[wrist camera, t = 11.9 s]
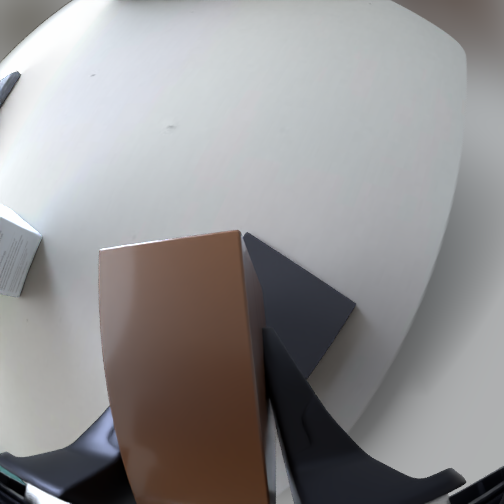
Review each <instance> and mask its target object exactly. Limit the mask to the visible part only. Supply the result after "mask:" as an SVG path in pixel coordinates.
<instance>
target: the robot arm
mask: <svg viewBox="0 0 504 504" xmlns="http://www.w3.org/2000/svg"><path fill="white" fill-rule="evenodd" d="M262 335H263V357H264V369H265V375H266V380H267V386H268V392H269V398H270V402H271V407H272V411H273V416H274V420H275V425H276V429H277V433H278V438H279V442H280V446H281V450H282V455H283V459H284V463H285V468H286V472H287V476H288V480H289V484H290V488H291V492H292V497H293V500H294V504H504V466H503V467H501V468H499V469H498V470H496V471H494V472H492V473H490V474H489V475H487V476H486V477H484V478H482V479H480V480H479V481H477V482H475V483H473V484H472V485H470V486H468V487H466V488H465V489H463V490H461V491H459V492H457V493H455V494H453V495H451V496H450V497H449V496H448V493H449V492H451V491H453V490H455V489H457V488H459V487H461V486H462V485H464V484H465V483H466V480H465V479H464V477H463V476H462V475H460V474H459V473H457V472H456V471H455V470H454V469H452V468H449V469H446V470H444V471H441V472H439V473H437V474H434V475H432V476H430V477H427V478H421V479H417V478H412V477H409V476H407V475H405V474H403V473H400V472H399V471H397V470H395V469H393V468H391V467H389V466H387V465H385V464H383V463H381V462H379V461H377V460H375V459H374V458H372V457H370V456H369V455H368V454H367V453H365V452H364V451H363V450H362V449H361V448H360V447H359V446H358V445H357V444H356V443H355V442H354V441H353V440H352V439H351V438H350V437H349V436H348V434H347V433H346V432H345V431H344V430H343V429H342V428H341V427H340V426H339V425H338V424H337V422H336V421H335V420H334V419H333V418H332V416H331V415H330V414H329V413H328V411H327V410H326V409H325V407H324V406H323V404H322V403H321V402H320V400H319V399H318V397H317V395H315V393H314V391H313V390H312V388H311V386H310V385H309V383H308V382H307V380H306V379H305V377H304V376H303V374H302V373H301V371H300V369H299V368H298V366H297V365H296V363H295V362H294V360H293V359H292V357H291V355H290V354H289V352H288V351H287V349H286V348H285V346H284V344H283V343H282V341H281V340H280V338H279V336H278V335H277V333H276V332H275V330H274V329H273V327H263V328H262ZM0 466H2V467H3V468H5V469H6V470H8V471H9V472H11V473H12V474H14V475H15V476H17V477H19V478H20V479H22V480H24V481H26V482H27V484H26V485H24V484H22V483H20V482H19V481H17V480H15V479H13V478H11V477H10V476H8V475H6V474H4V473H3V472H1V471H0V504H137V503H136V501H135V498H134V495H133V492H132V489H131V486H130V483H129V480H128V477H127V474H126V470H125V467H124V463H123V460H122V456H121V453H120V449H119V445H118V441H117V436H116V432H115V428H114V423H113V418H112V413H111V408H110V406H109V407H108V408H107V409H106V410H105V412H104V413H103V414H102V415H101V416H100V417H99V418H98V419H97V420H96V421H95V422H94V423H93V424H92V425H91V426H90V427H89V428H88V429H87V430H86V431H85V432H84V433H83V434H82V435H81V436H80V437H79V438H78V439H77V440H76V441H75V442H74V443H72V444H71V445H69V446H67V447H65V448H63V449H59V450H55V451H51V452H47V453H43V454H38V455H34V456H29V457H16V456H13V455H12V454H10V453H8V452H4V453H1V454H0Z"/></svg>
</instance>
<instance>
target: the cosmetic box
mask: <svg viewBox="0 0 504 504" xmlns="http://www.w3.org/2000/svg"><path fill="white" fill-rule="evenodd" d="M41 239H42V235H41V234H40V233H39V232H37V231H36V230H35V229H34V228H33V227H31V226H30V225H29V224H28V223H27V222H25V221H24V220H23V219H22V218H21V217H19V216H18V215H17V214H16V213H15V212H13V211H12V210H11V209H10V208H8V207H6V206H4V205H2V204H0V294H2V295H7V296H13V297H19V296H20V293H21V290H22V287H23V284H24V281H25V279H26V276H27V273H28V270H29V268H30V265H31V263H32V260H33V258H34V255H35V253H36V250H37V248H38V246H39V243H40V241H41Z"/></svg>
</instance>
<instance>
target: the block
mask: <svg viewBox="0 0 504 504" xmlns="http://www.w3.org/2000/svg"><path fill="white" fill-rule="evenodd" d="M99 312H100V329H101V342H102V353H103V362H104V370H105V377H106V384H107V391H108V397H109V403H110V408H111V413H112V418H113V423H114V428H115V432H116V436H117V441H118V445H119V449H120V453H121V456H122V460H123V463H124V467H125V470H126V474H127V477H128V480H129V483H130V486H131V489H132V492H133V495H134V498H135V501H136V503H137V504H276V425H275V420H274V416H273V411H272V407H271V402H270V398H269V392H268V386H267V380H266V375H265V369H264V357H263V335H262V328H263V327H266V320H265V311H264V302H263V293H262V288H261V285H260V283H259V280H258V277H257V275H256V272H255V269H254V267H253V264H252V261H251V259H250V256H249V253H248V251H247V248H246V245H245V243H244V240H243V237H242V235H241V232H240V231H239V230H232V231H224V232H217V233H209V234H201V235H194V236H187V237H179V238H172V239H165V240H158V241H151V242H144V243H137V244H131V245H124V246H117V247H111V248H104V249H101V250H100V251H99Z"/></svg>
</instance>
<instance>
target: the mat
mask: <svg viewBox="0 0 504 504" xmlns="http://www.w3.org/2000/svg"><path fill="white" fill-rule="evenodd" d="M243 240H244V243H245V245H246V248H247V251H248V253H249V256H250V259H251V261H252V264H253V267H254V269H255V272H256V275H257V277H258V280H259V283H260V285H261V288H262V293H263V302H264V311H265V320H266V327H273V329H274V330H275V332H276V333H277V335H278V336H279V338H280V340H281V341H282V343H283V344H284V346H285V348H286V349H287V351H288V352H289V354H290V355H291V357H292V359H293V360H294V362H295V363H296V365H297V366H298V368H299V369H300V371H301V373H302V374H303V376H304V377H305V379H307V378H308V377H309V375H310V374H311V373H312V371H313V370H314V368H315V367H316V365H317V364H318V363H319V361H320V360H321V358H322V357H323V355H324V354H325V353H326V351H327V350H328V348H329V347H330V345H331V344H332V342H333V341H334V339H335V338H336V336H337V334H338V333H339V331H340V330H341V328H342V327H343V325H344V323H345V322H346V320H347V319H348V317H349V315H350V314H351V312H352V311H353V309H354V307H355V306H356V303H354V302H353V301H351V300H350V299H348V298H347V297H345V296H344V295H342V294H341V293H339V292H338V291H336V290H335V289H333V288H332V287H330V286H329V285H327V284H326V283H324V282H323V281H321V280H320V279H318V278H317V277H315V276H314V275H312V274H311V273H309V272H308V271H306V270H305V269H303V268H302V267H300V266H298V265H297V264H295V263H294V262H292V261H291V260H289V259H288V258H286V257H285V256H283V255H282V254H280V253H279V252H277V251H275V250H274V249H272V248H271V247H269V246H268V245H266V244H265V243H263V242H262V241H260V240H259V239H257V238H255V237H254V236H252V235H251V234H249V233H248V232H246V234H245V235H244V237H243Z"/></svg>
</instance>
